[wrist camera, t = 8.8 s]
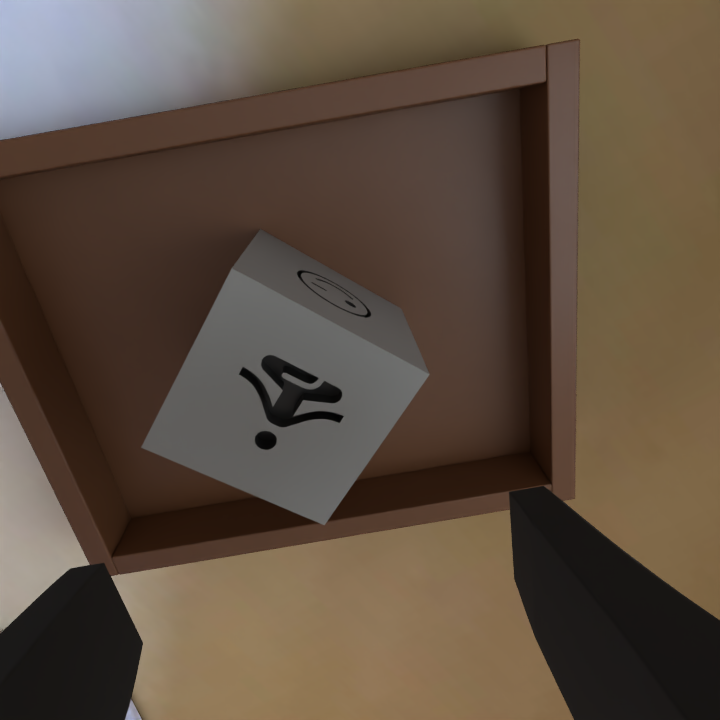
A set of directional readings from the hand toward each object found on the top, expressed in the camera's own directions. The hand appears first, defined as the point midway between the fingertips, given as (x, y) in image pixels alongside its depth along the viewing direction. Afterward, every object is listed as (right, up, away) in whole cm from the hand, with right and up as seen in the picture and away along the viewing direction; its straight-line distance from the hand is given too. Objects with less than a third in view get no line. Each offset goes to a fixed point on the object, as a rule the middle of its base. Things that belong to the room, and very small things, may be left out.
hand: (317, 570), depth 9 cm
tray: (-1, +5, +8) cm, 9 cm away
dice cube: (-1, +5, +8) cm, 9 cm away
